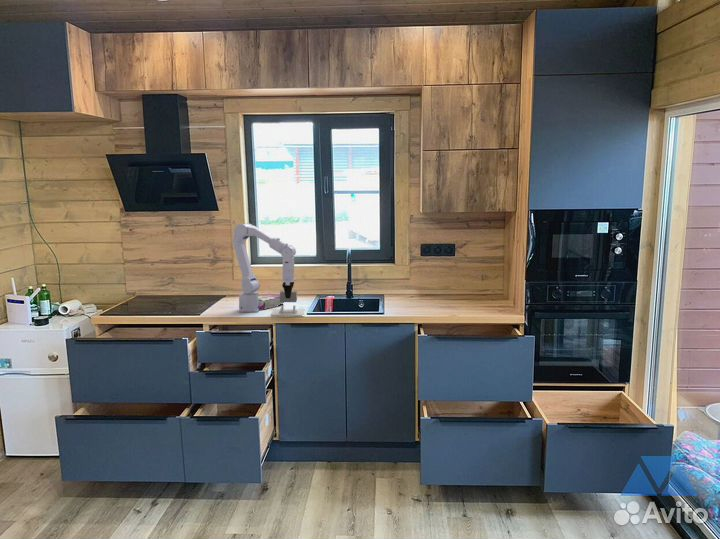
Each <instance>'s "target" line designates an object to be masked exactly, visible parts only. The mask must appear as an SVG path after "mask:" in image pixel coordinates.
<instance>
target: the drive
mask: <svg viewBox="0 0 720 539" xmlns="http://www.w3.org/2000/svg"><path fill="white" fill-rule="evenodd" d="M297 295H298V294H297V290H292V291H291V297H290V298H286V297H285V291H284V290H280V291H279V296H280V302H284V303H297V300H298V296H297Z"/></svg>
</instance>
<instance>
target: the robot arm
mask: <svg viewBox="0 0 720 539" xmlns="http://www.w3.org/2000/svg"><path fill="white" fill-rule="evenodd" d="M233 233H234V234H233V238H232V239H233V240H232V245H233V248H234V252H235V255H236V259H237V262H238V265H239V269H240V272H241V279H240V281H241V288H240V289H241V291H242V292H241V293H239V295H238V312H239V313H258V312H259V310H260V309H259V308H258V296H259V290H260V287H261V283H260V281H259V279H257V276H256V274H254V272H253V269H252V266H251V262H250V259H249V255H248V252H247V248H246V245H245V243H246V242H247V241H248V239H249V238H250V237H256V238H257V239H259V240H261V241H262V242H265V243H267V244H268V246H269V248H271V249H272V250H273V251H275V252H277V253H278V254H280V255H281V257H282V279H281V281H282V284H281V286H282V288H283V291H285V297H286V298H290V297H291V291H293V288H294V284H295V282H297V278H295V256H296V253H297V250H296V248H295V247H294V246H293V245H289V243H286V242H285V241H283V240H281V238H280V237H271V236H270V235H268V234H267V233H265V232H264V231H263V230H261V229H260V228H258V227H257V226H256V225H253V224H251V223H248V222H247V223H240V224H239V223H238V225H236V226H235V228H234V230H233Z"/></svg>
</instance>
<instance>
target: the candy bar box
mask: <svg viewBox="0 0 720 539" xmlns="http://www.w3.org/2000/svg"><path fill="white" fill-rule="evenodd" d="M283 303H284V304H285V302H280V294H279V295H278V294H272V293H267V294H262V295H258V308H259V310H267V308H268V309H271V307H272V308H275V307H274V306H276V307H278V306H277V305H280V304H283ZM280 306H281V305H280Z"/></svg>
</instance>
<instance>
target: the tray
mask: <svg viewBox="0 0 720 539" xmlns="http://www.w3.org/2000/svg"><path fill="white" fill-rule="evenodd" d="M280 306H281V307H280V308H272V311H271V313H270V317H293V316H302V315H304V316H305V308H296V305H292V306H293V307H292V308H284V305H280Z"/></svg>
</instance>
